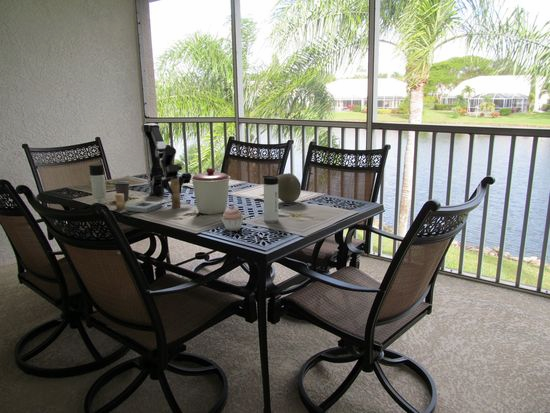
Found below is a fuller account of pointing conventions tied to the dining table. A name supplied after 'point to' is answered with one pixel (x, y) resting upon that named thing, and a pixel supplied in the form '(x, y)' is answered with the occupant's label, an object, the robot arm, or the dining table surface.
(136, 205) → the hole plate
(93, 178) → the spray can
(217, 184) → the canister
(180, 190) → the robot arm
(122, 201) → the short pin
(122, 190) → the coffee cup
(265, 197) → the travel mug
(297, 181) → the cantaloupe
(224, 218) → the cupcake
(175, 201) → the tall pin
